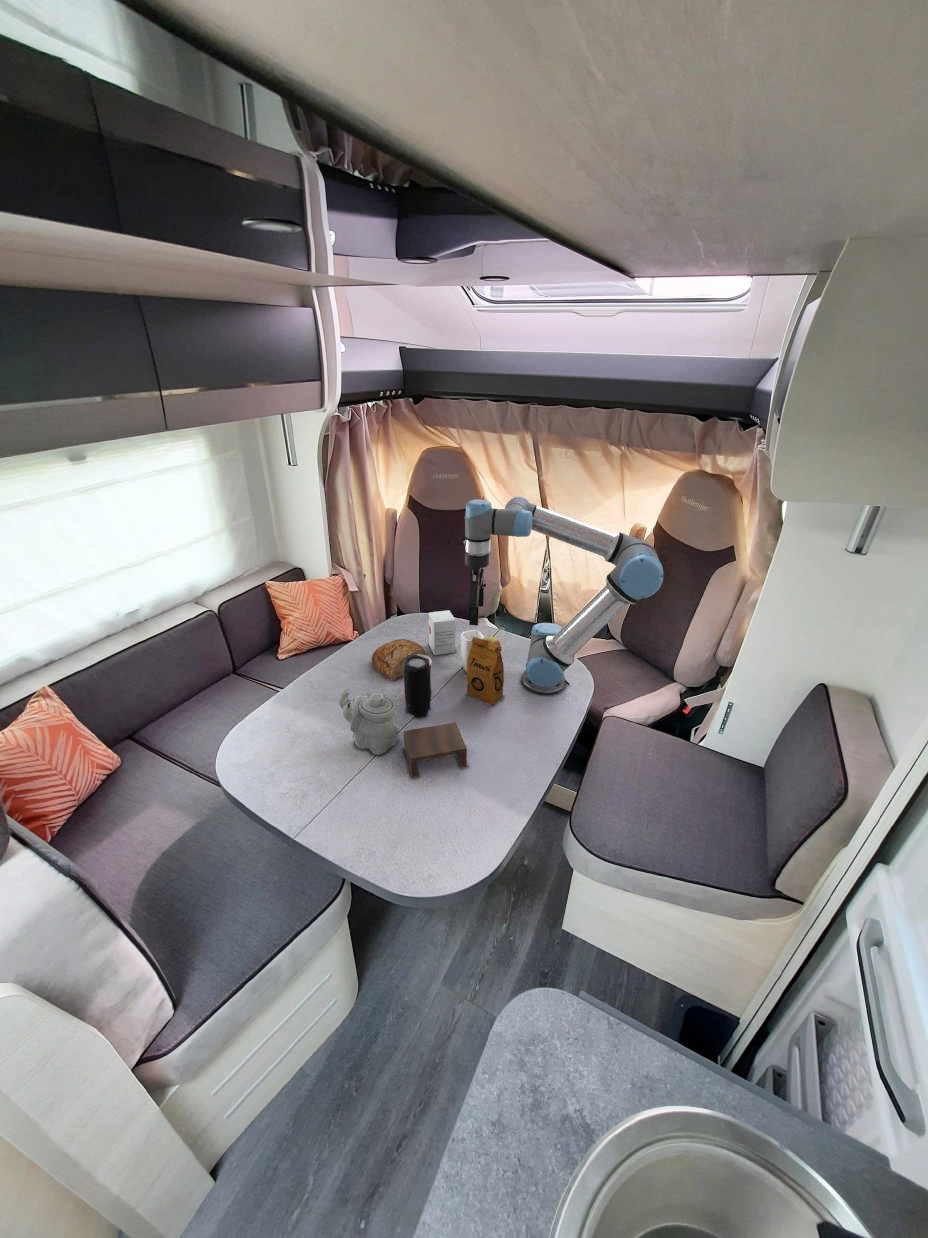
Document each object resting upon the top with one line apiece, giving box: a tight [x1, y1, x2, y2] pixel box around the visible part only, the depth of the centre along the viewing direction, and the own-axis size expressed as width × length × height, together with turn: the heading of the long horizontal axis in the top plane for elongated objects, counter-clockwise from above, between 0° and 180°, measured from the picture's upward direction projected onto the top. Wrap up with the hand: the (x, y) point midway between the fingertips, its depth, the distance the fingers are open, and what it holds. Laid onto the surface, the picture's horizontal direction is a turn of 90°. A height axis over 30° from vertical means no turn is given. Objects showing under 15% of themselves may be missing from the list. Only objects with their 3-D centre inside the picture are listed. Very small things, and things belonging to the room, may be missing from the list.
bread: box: [371, 638, 429, 681], centre depth 193 cm, size 20×18×10 cm
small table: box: [402, 721, 468, 778], centre depth 149 cm, size 16×12×7 cm
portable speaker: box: [403, 655, 432, 719], centre depth 166 cm, size 9×9×20 cm
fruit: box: [484, 636, 503, 652], centre depth 203 cm, size 7×7×10 cm
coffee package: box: [466, 637, 505, 707], centre depth 173 cm, size 10×12×22 cm
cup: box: [460, 629, 485, 673], centre depth 189 cm, size 7×7×15 cm
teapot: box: [338, 688, 399, 756], centre depth 152 cm, size 16×15×19 cm
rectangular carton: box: [427, 609, 457, 656], centre depth 203 cm, size 9×9×15 cm
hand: (476, 615), depth 164 cm, fingers open, 13 cm apart
